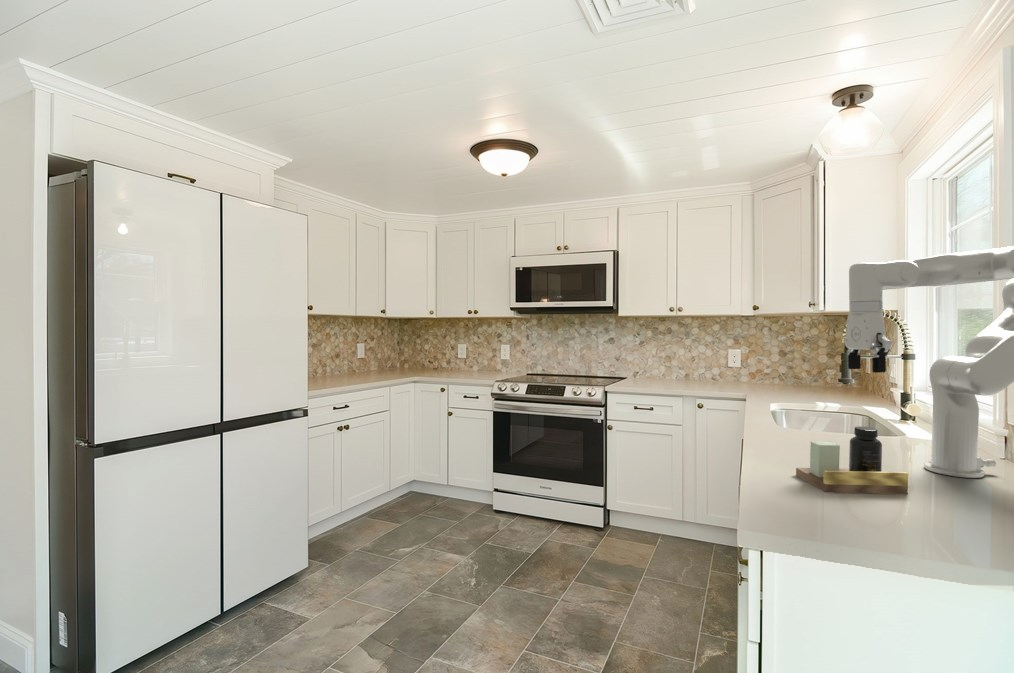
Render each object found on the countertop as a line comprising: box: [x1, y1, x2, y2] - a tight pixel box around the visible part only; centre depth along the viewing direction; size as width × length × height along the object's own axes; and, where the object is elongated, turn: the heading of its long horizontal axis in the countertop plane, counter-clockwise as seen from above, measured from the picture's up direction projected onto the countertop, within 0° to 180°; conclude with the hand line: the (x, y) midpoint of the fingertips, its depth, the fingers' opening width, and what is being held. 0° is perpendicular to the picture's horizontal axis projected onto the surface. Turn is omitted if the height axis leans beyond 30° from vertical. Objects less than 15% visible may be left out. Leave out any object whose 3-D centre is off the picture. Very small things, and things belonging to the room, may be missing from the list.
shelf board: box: [795, 467, 909, 495], centre depth 132 cm, size 19×14×5 cm
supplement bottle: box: [848, 426, 883, 472], centre depth 132 cm, size 7×7×12 cm
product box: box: [809, 441, 841, 477], centre depth 133 cm, size 5×4×8 cm
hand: (866, 370), depth 144 cm, fingers open, 9 cm apart
